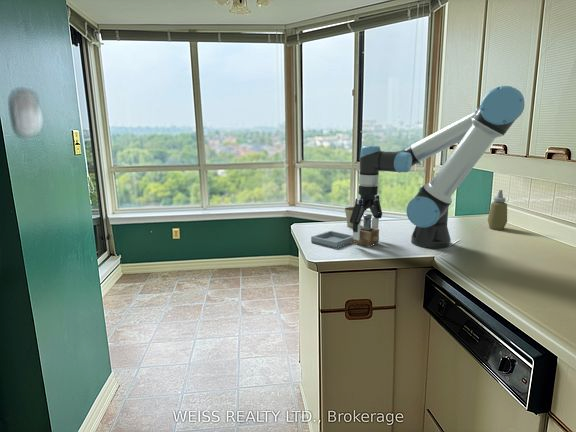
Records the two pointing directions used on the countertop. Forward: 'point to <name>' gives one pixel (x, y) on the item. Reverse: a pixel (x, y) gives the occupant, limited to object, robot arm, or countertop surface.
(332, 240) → the tray
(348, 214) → the flower pot
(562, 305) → the countertop surface
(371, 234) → the brown wooden box
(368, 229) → the post
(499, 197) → the squeeze bottle
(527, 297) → the countertop surface
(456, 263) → the countertop surface
